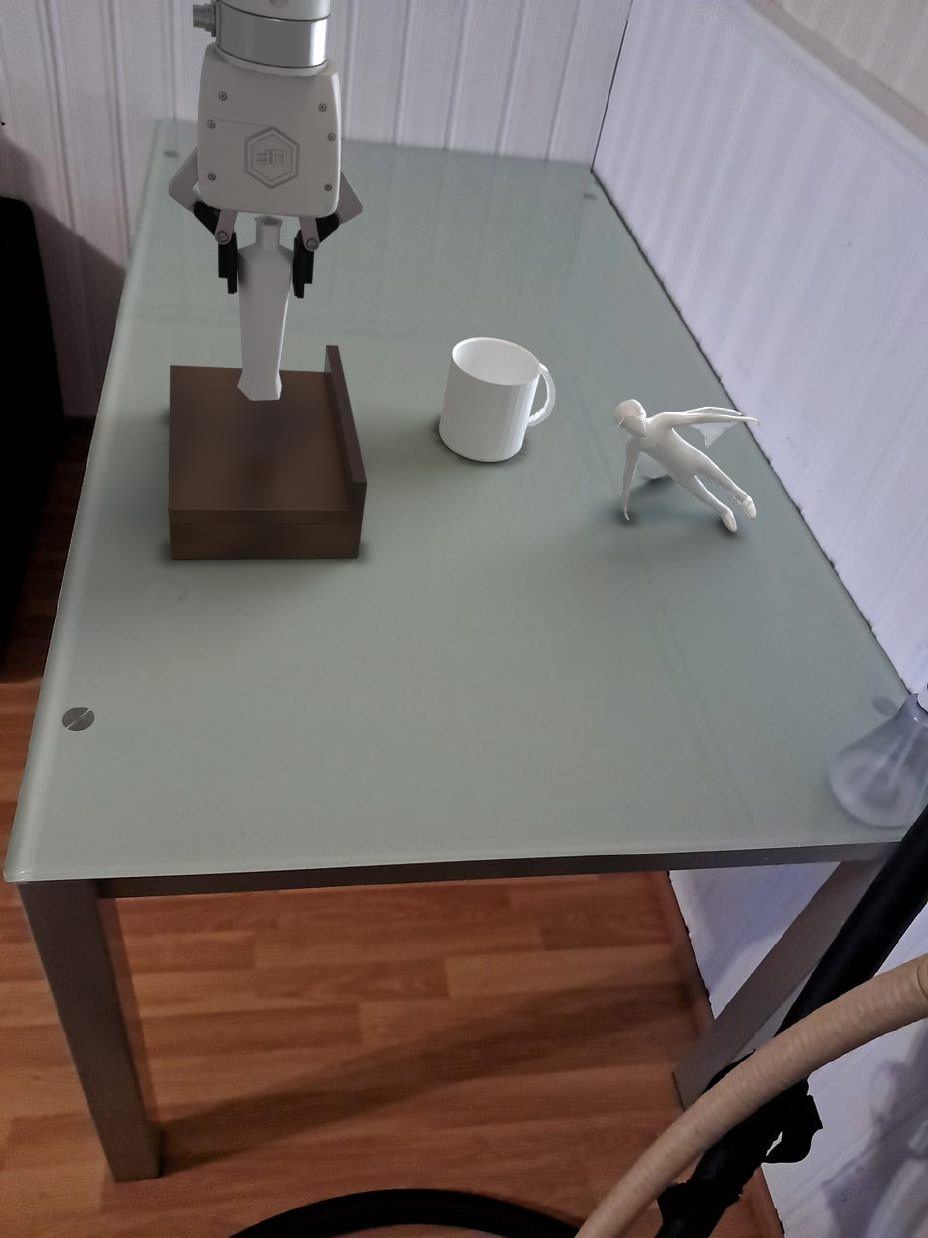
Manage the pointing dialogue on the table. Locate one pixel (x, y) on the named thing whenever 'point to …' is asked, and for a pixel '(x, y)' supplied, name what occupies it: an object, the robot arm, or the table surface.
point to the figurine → (679, 452)
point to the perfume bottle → (263, 308)
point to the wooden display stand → (264, 466)
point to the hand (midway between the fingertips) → (265, 285)
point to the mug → (491, 398)
